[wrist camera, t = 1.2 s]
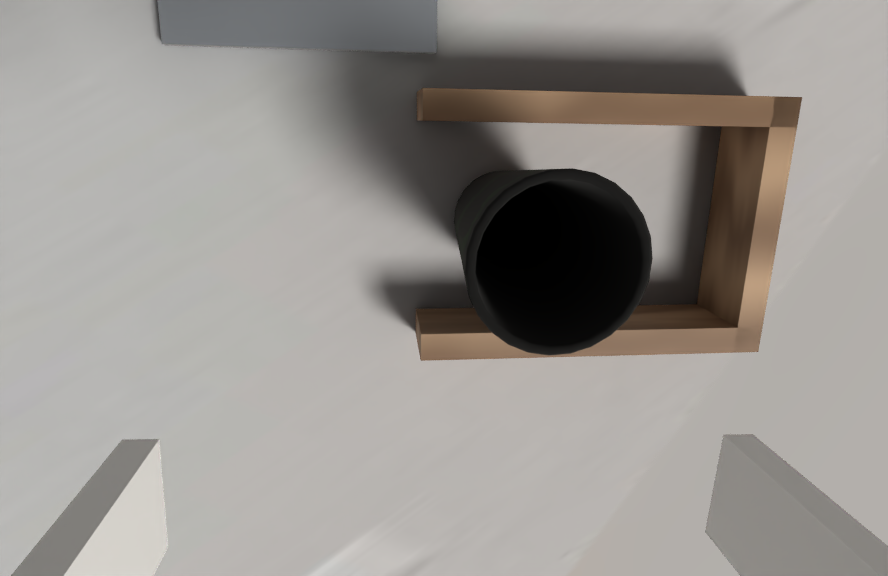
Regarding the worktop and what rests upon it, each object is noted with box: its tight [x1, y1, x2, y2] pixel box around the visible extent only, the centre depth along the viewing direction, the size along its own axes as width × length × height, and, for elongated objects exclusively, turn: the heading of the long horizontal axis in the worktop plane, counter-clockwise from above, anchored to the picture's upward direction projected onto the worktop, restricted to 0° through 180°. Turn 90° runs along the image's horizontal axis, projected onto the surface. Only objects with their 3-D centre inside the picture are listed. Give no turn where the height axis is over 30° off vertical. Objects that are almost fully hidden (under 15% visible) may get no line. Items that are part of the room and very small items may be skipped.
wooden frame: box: [416, 88, 802, 360], centre depth 34 cm, size 14×20×4 cm
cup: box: [454, 169, 652, 356], centre depth 29 cm, size 8×8×12 cm
